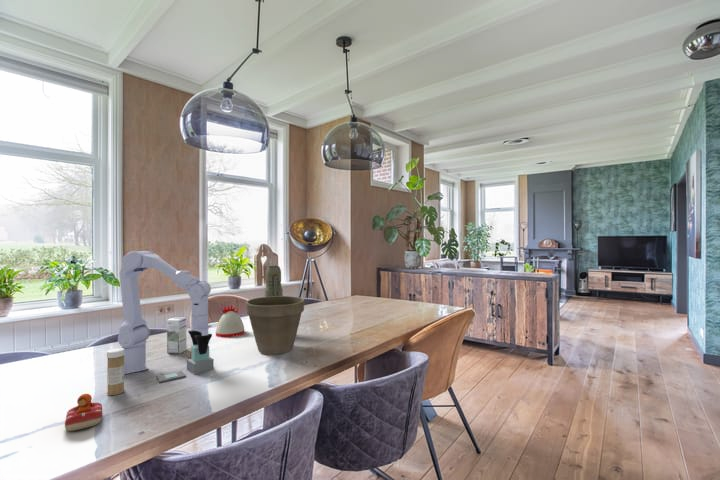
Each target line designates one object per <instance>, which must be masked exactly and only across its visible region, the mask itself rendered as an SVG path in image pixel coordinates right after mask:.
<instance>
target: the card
mask: <svg viewBox="0 0 720 480" xmlns="http://www.w3.org/2000/svg"><path fill="white" fill-rule="evenodd" d="M186 377H187V376H186V374H185V373H184V371H183V370H179V371H174V372H170V373H169V372H168V373H166V374H165V373H164V374H161V375H156V379H157V381H158V383H159V384H162V383H166V382H170V381H174V380H179V379H183V378H186Z"/></svg>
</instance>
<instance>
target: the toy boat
mask: <svg viewBox="0 0 720 480" xmlns="http://www.w3.org/2000/svg"><path fill="white" fill-rule="evenodd" d="M92 400H93V399H92V395H91V394H89V393H83V394H81V395H79V397H78V398H77V401H76V402H77V405H76V406H74V407H71V408H70V409H69V410H68V411H67V412H66V417H65V420H64V429H65V430H66V431H67V432H73V431H77V430H82V429H87V428H90V427H95V426H96V425H98V424H99V423H100V422H101V420H102V417H103V405H102V403H100V402H92Z"/></svg>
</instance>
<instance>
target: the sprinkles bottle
mask: <svg viewBox="0 0 720 480" xmlns="http://www.w3.org/2000/svg"><path fill="white" fill-rule="evenodd" d="M124 354H125V351H124V349H123V348H121V347H116V348H111V349H108V350H107V351H106V358H107V376H106V377H107V379H106V380H107V381H106V382H107V383H106V384H107V392H106V394H107V395H108V396H116V395H117V396H118V395H121V394H122V393H124V392H125V374H124Z"/></svg>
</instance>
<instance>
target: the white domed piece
mask: <svg viewBox="0 0 720 480" xmlns="http://www.w3.org/2000/svg"><path fill="white" fill-rule="evenodd" d="M238 310H239V308H237V309H236V306H234V307H233V305H232V304H231V305H229V304H228V305H227V308H226V305H224V306H223V308H221V311H222V313H223V314H222V315H221V317H220V318H219V320H217V322H218V323H217V325H216V328H215V337H217V338H233V337H234V338H235V337H239V336H242V335H244V334H245V326H244V323H243V320H242V318H241V316H240V315H239V313H238Z"/></svg>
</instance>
